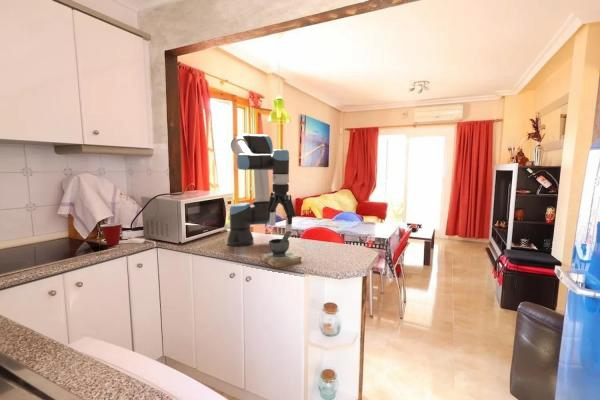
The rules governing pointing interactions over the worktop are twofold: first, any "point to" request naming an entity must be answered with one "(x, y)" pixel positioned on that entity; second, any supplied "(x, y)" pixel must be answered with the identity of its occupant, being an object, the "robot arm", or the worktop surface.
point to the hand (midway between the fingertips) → (280, 228)
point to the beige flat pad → (280, 259)
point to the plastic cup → (112, 233)
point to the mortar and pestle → (280, 245)
